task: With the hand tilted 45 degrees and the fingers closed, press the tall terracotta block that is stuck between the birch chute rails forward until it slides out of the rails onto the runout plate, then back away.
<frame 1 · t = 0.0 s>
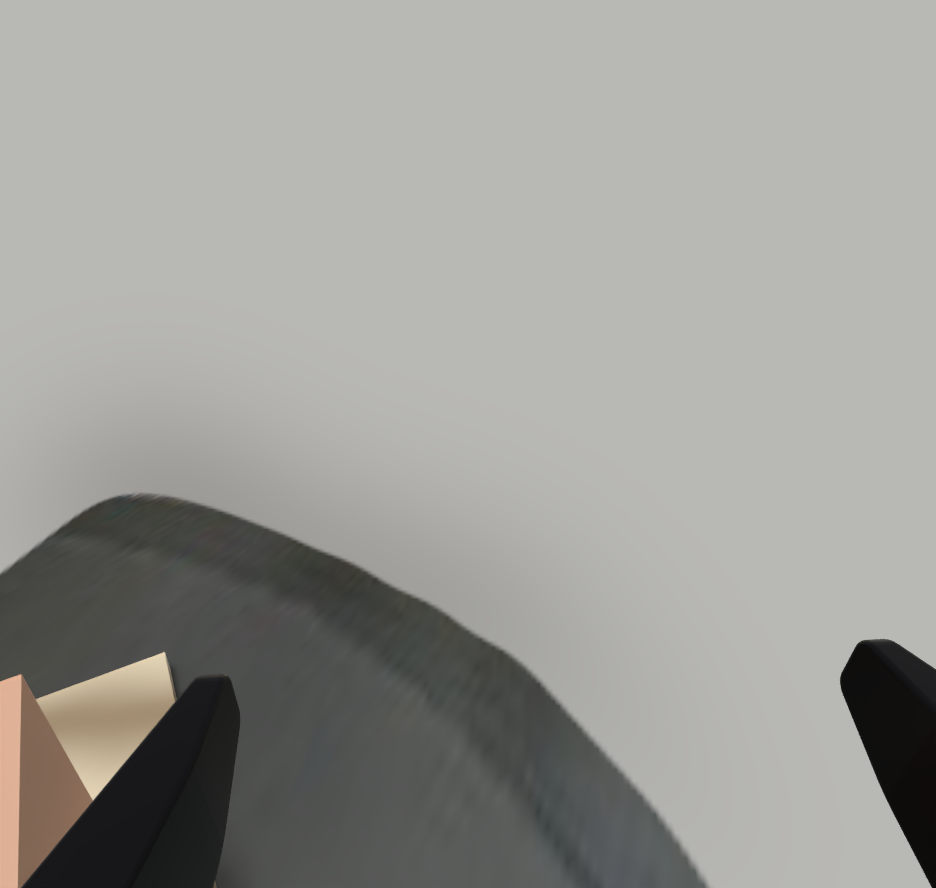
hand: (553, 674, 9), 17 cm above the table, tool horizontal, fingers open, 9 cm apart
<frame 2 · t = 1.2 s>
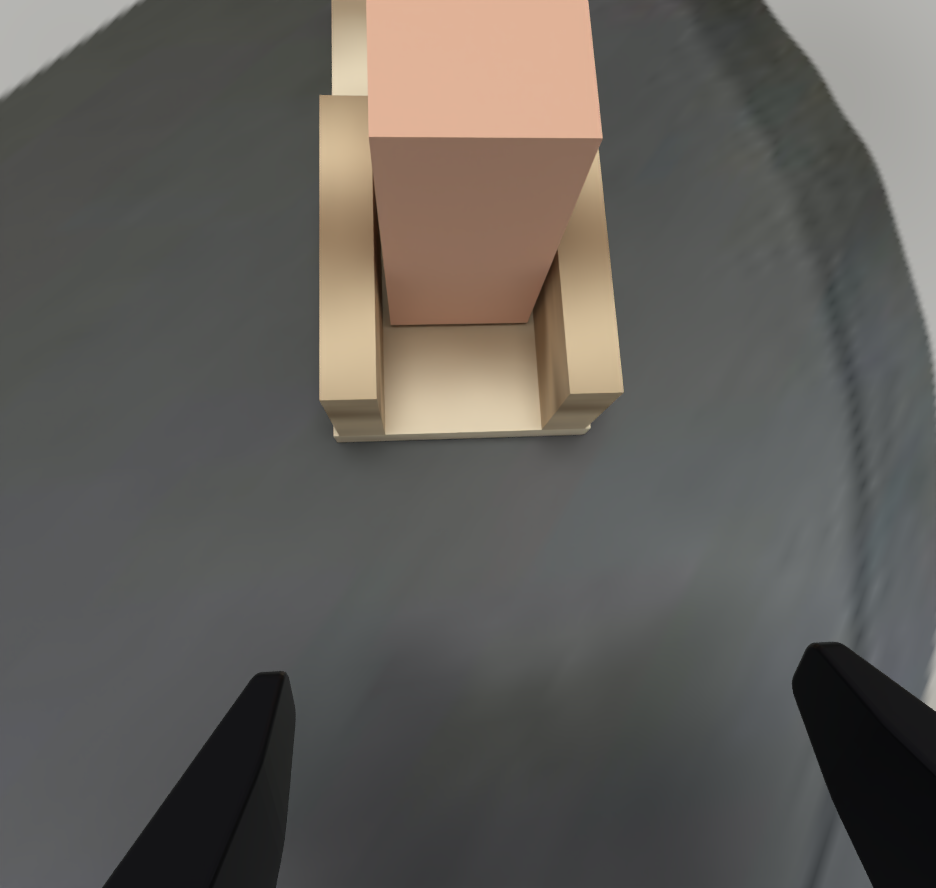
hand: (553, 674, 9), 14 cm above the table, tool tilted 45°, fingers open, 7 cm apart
chute: (454, 265, 25), on the table
jammed block: (464, 163, 19), point 6 cm above the table, slide at 0.0 cm
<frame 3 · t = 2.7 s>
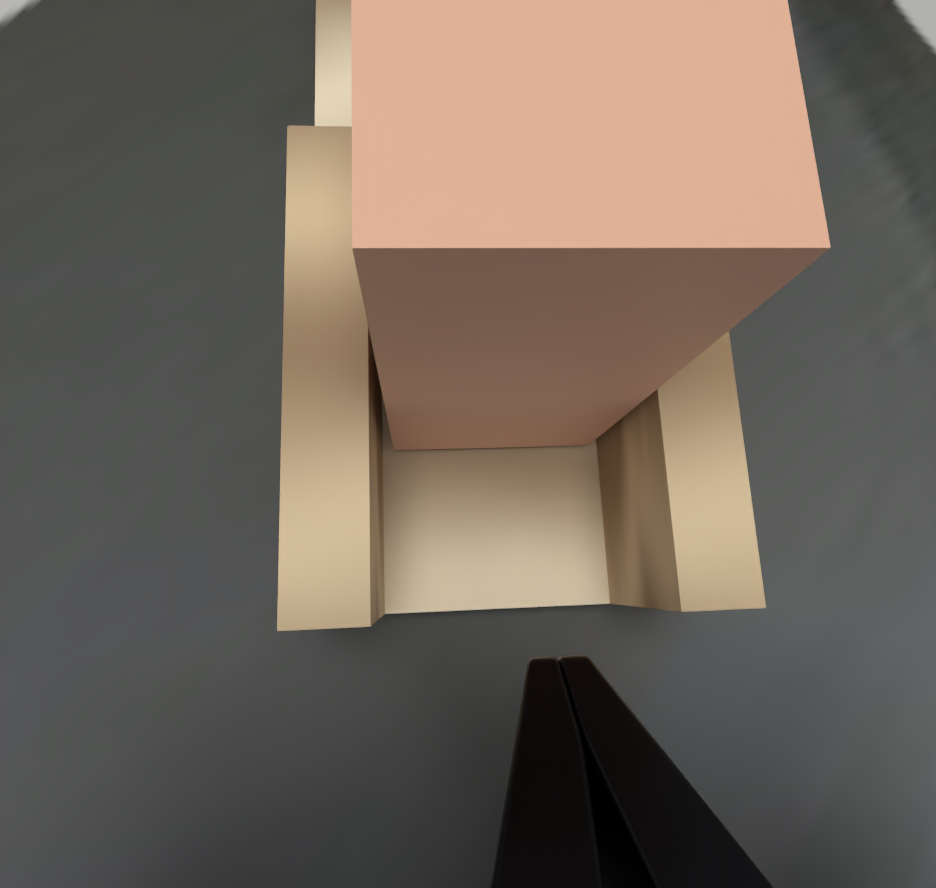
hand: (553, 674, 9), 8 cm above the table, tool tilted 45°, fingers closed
chute: (482, 354, 18), on the table
jammed block: (513, 238, 12), point 6 cm above the table, slide at 0.0 cm
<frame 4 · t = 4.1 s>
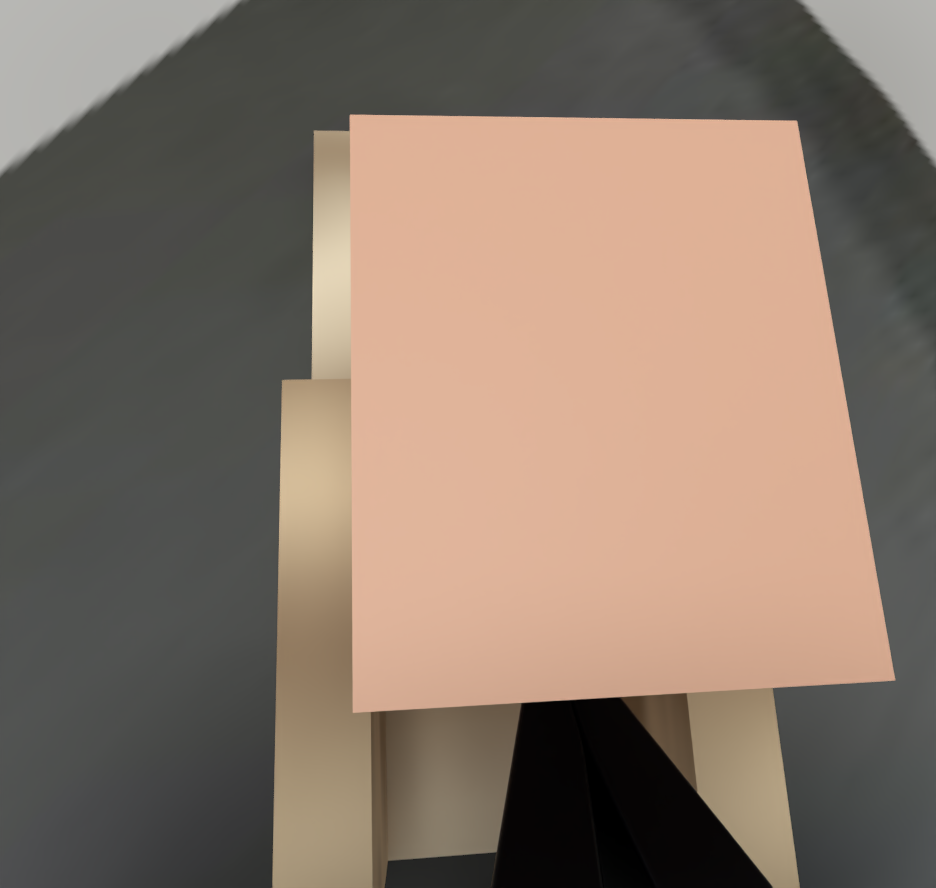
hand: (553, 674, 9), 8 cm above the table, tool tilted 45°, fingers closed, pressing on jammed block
chute: (490, 547, 17), on the table
jammed block: (524, 467, 11), point 6 cm above the table, slide at 1.0 cm, touching gripper
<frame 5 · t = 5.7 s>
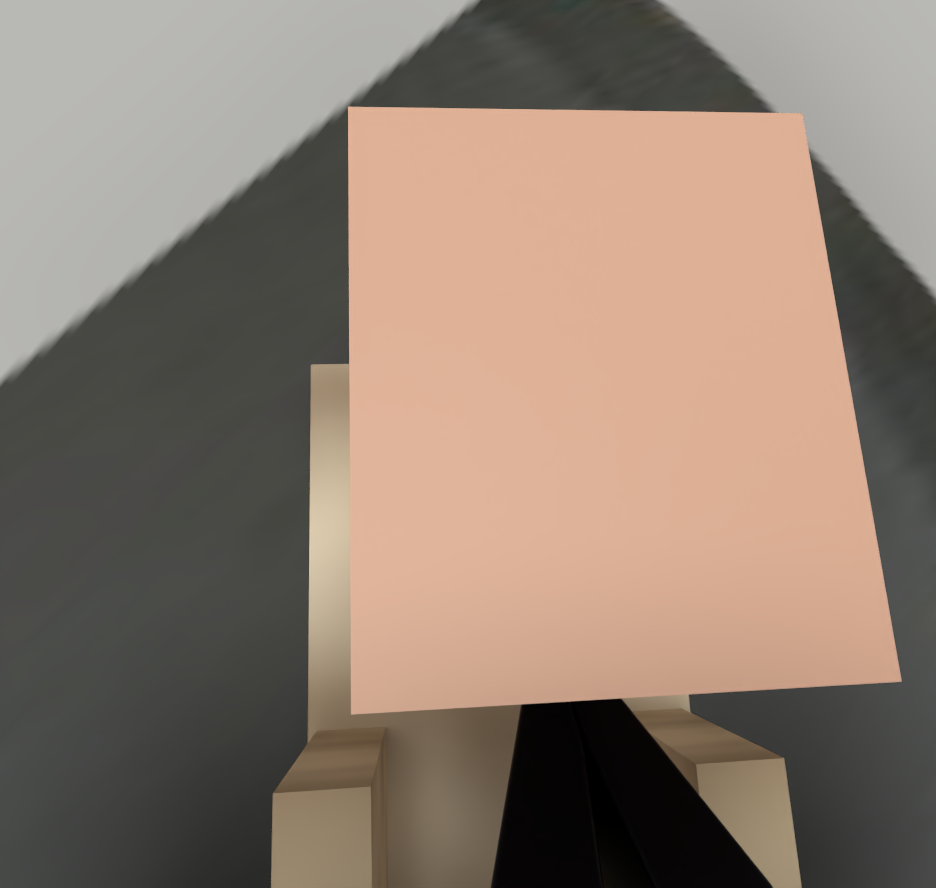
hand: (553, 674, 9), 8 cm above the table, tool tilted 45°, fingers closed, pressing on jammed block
chute: (505, 841, 16), on the table
jammed block: (525, 465, 11), point 6 cm above the table, slide at 8.2 cm, touching gripper
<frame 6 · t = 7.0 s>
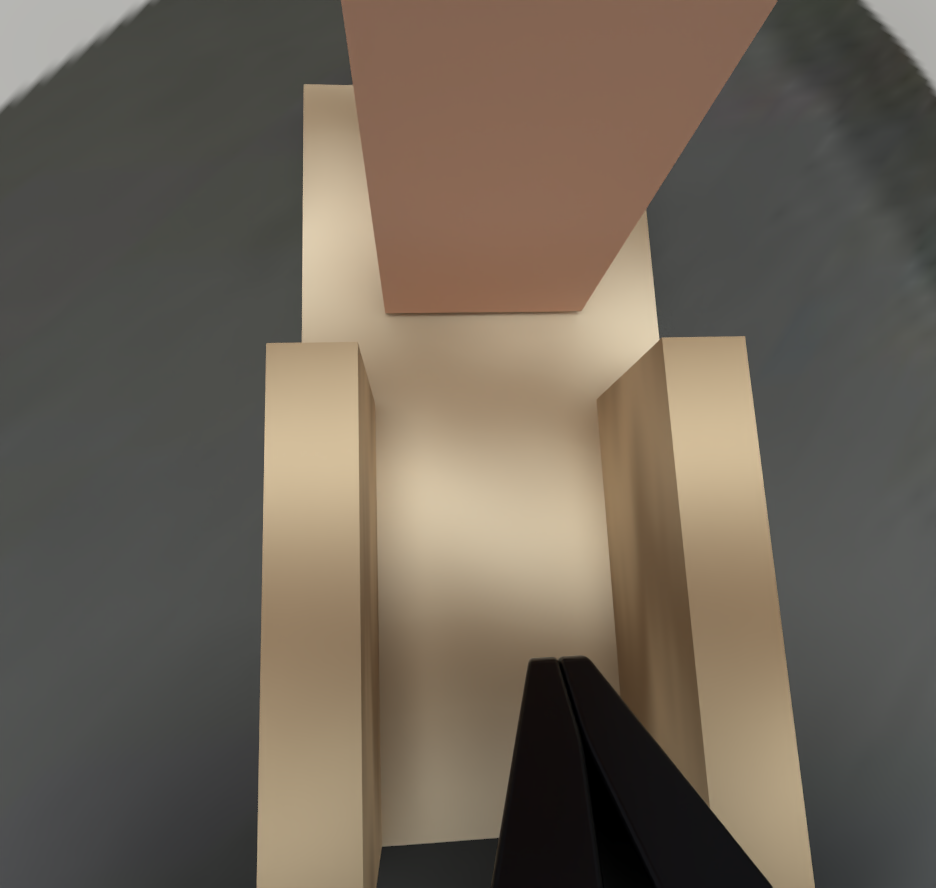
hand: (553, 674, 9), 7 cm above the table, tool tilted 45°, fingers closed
chute: (488, 524, 16), on the table
jammed block: (503, 54, 12), point 6 cm above the table, slide at 8.3 cm
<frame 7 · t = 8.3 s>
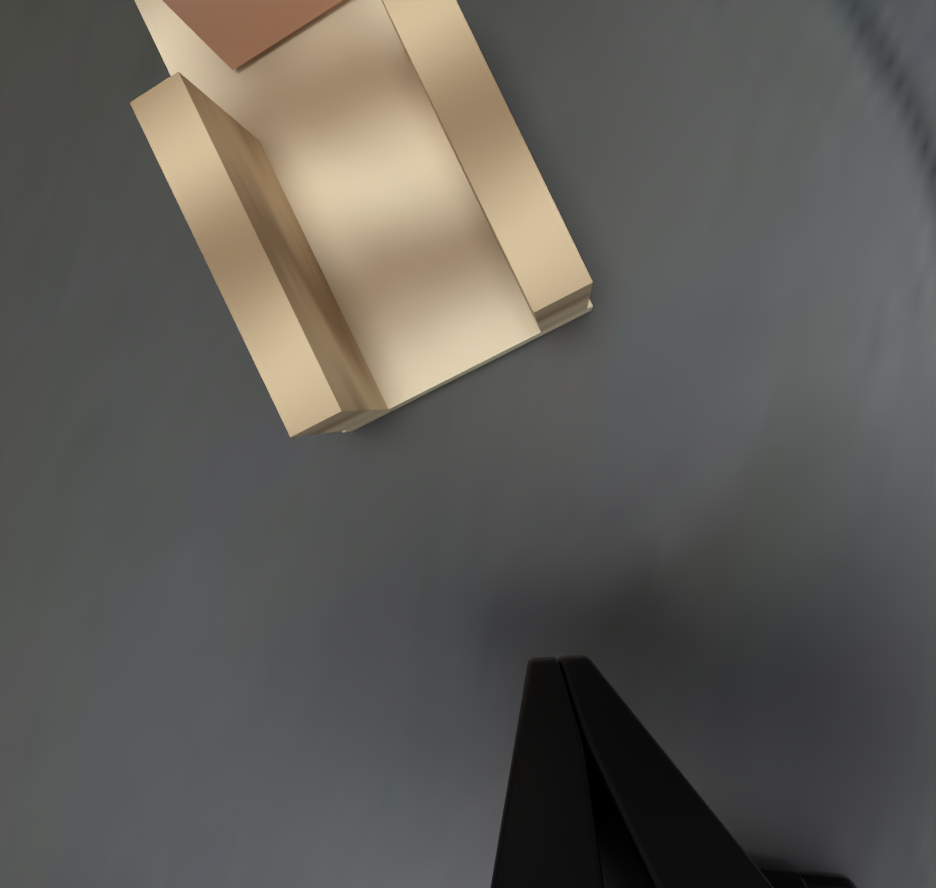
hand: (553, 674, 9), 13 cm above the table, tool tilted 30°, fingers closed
chute: (378, 189, 22), on the table
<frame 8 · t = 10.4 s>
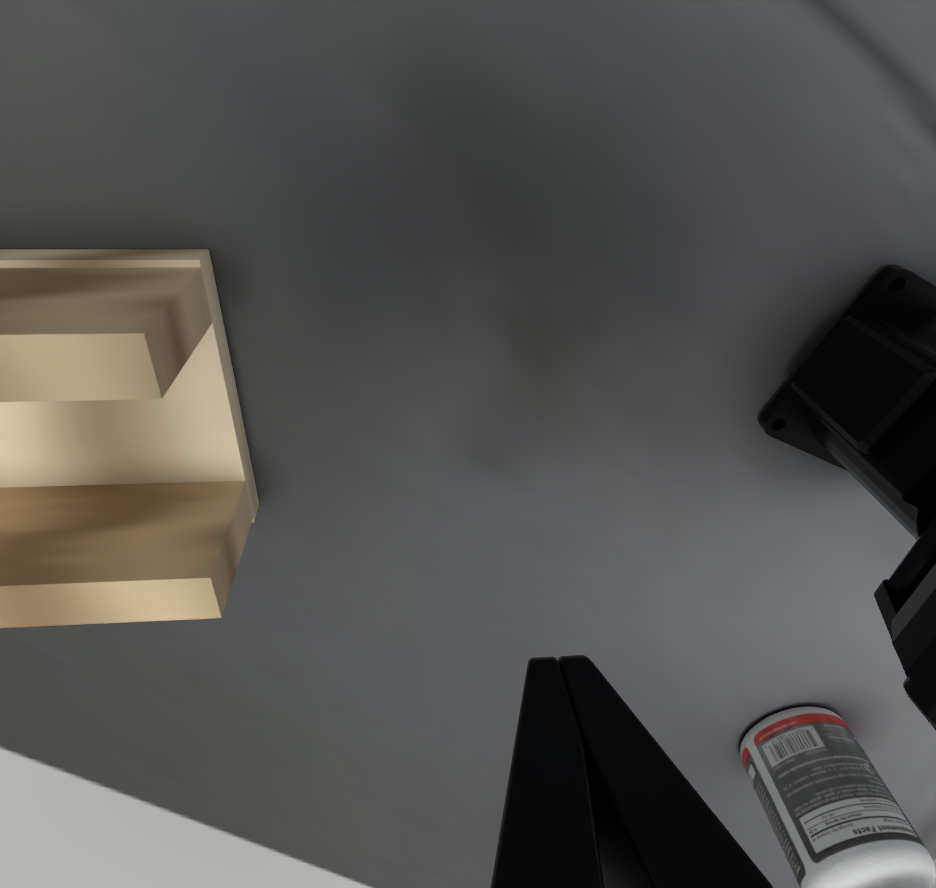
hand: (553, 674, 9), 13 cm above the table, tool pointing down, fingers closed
chute: (9, 396, 20), on the table
pill bottle: (787, 731, 34), on the table
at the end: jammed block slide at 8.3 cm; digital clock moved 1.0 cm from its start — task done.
